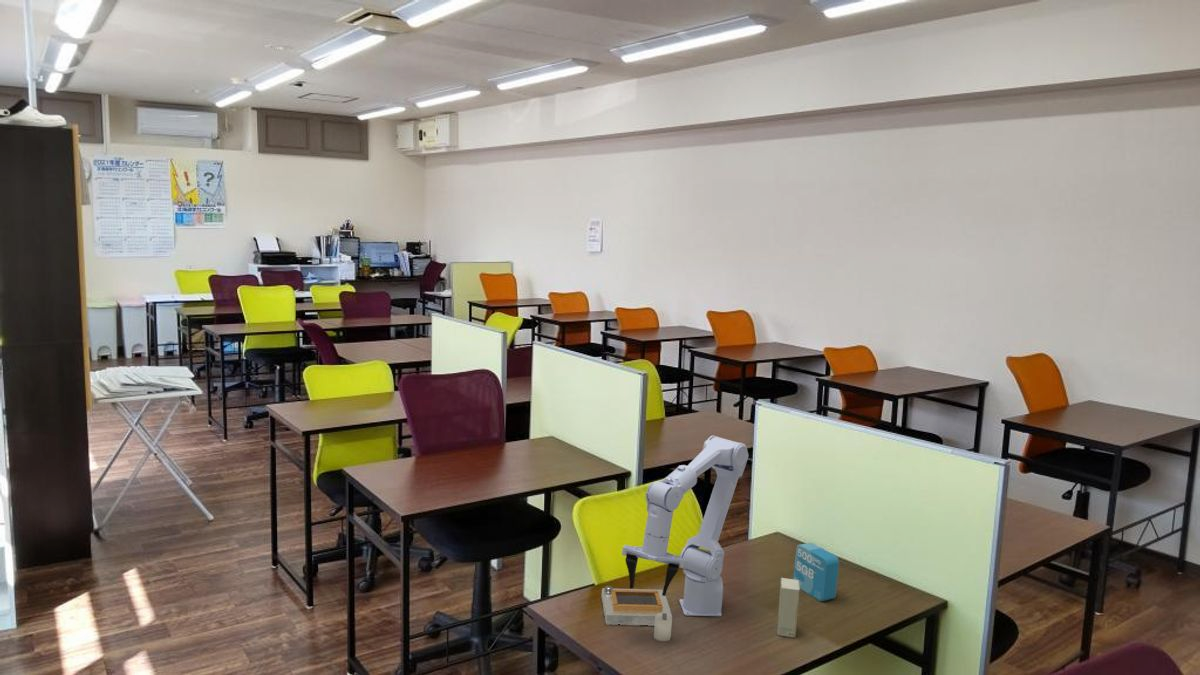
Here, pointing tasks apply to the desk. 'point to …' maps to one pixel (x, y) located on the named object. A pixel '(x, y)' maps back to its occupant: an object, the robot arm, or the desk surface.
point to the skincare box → (788, 607)
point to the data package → (816, 571)
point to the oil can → (662, 626)
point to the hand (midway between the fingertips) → (647, 590)
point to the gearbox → (633, 606)
